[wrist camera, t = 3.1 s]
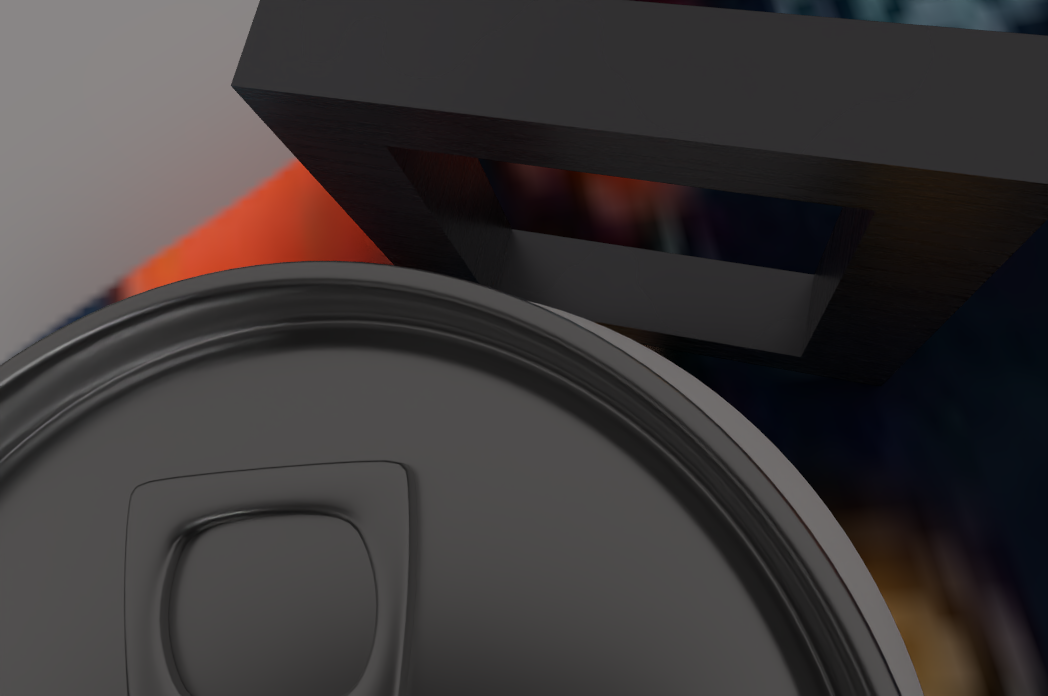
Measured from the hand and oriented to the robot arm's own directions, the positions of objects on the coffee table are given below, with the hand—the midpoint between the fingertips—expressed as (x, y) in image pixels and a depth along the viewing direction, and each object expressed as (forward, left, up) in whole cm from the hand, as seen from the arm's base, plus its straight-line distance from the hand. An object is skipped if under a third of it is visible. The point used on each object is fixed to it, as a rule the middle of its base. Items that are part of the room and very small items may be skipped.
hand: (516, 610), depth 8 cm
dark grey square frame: (+5, +2, -7) cm, 9 cm away
